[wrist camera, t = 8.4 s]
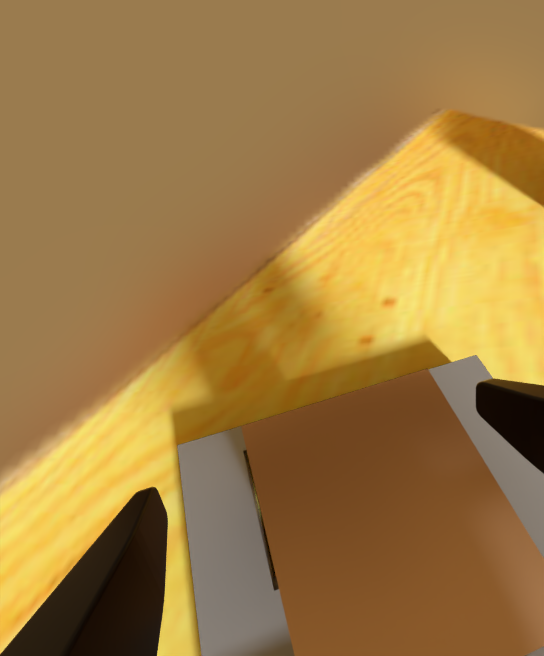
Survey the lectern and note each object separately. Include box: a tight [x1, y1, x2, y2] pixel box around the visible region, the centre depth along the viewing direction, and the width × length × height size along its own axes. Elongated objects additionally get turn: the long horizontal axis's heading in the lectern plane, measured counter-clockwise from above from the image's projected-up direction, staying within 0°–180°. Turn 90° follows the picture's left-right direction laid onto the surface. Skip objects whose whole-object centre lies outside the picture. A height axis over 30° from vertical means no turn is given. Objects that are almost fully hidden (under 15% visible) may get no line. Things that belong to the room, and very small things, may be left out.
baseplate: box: [177, 355, 544, 656], centre depth 12 cm, size 15×18×4 cm
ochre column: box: [241, 369, 544, 656], centre depth 10 cm, size 4×4×12 cm
